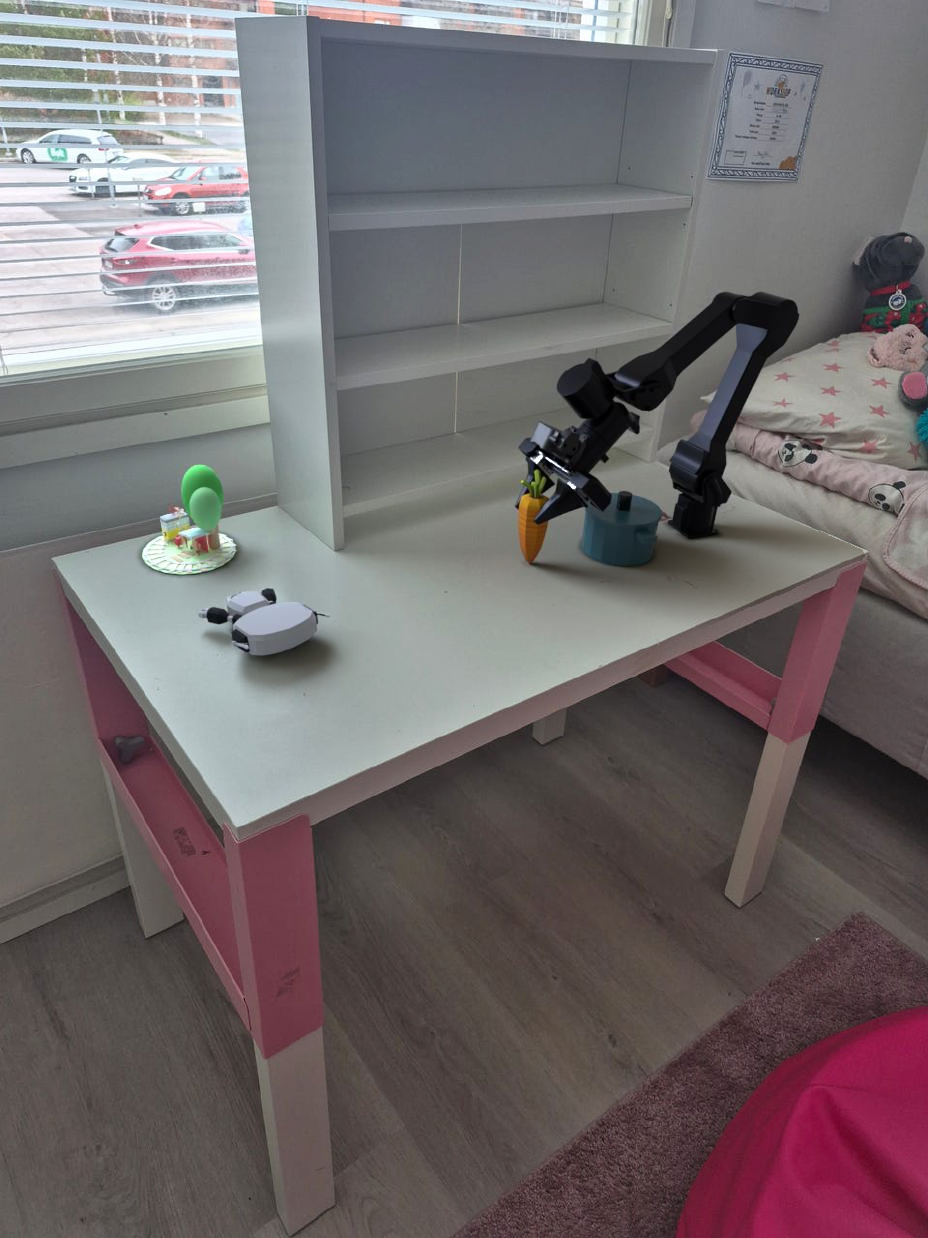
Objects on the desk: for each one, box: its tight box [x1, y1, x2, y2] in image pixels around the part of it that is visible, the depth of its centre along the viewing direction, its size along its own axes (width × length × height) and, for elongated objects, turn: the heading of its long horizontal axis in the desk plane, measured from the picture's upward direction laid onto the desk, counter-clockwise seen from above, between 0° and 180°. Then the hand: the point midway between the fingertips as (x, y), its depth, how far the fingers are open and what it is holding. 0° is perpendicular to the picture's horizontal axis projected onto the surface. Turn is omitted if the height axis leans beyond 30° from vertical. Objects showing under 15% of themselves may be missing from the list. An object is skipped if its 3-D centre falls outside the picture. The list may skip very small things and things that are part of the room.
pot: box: [581, 511, 660, 567], centre depth 139 cm, size 11×17×7 cm
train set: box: [141, 464, 237, 575], centre depth 130 cm, size 15×14×14 cm
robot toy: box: [197, 586, 331, 656], centre depth 113 cm, size 12×4×15 cm
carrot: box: [517, 470, 550, 565], centre depth 131 cm, size 5×5×15 cm
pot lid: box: [584, 490, 663, 528], centre depth 137 cm, size 12×12×4 cm
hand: (526, 515), depth 130 cm, fingers open, 5 cm apart
